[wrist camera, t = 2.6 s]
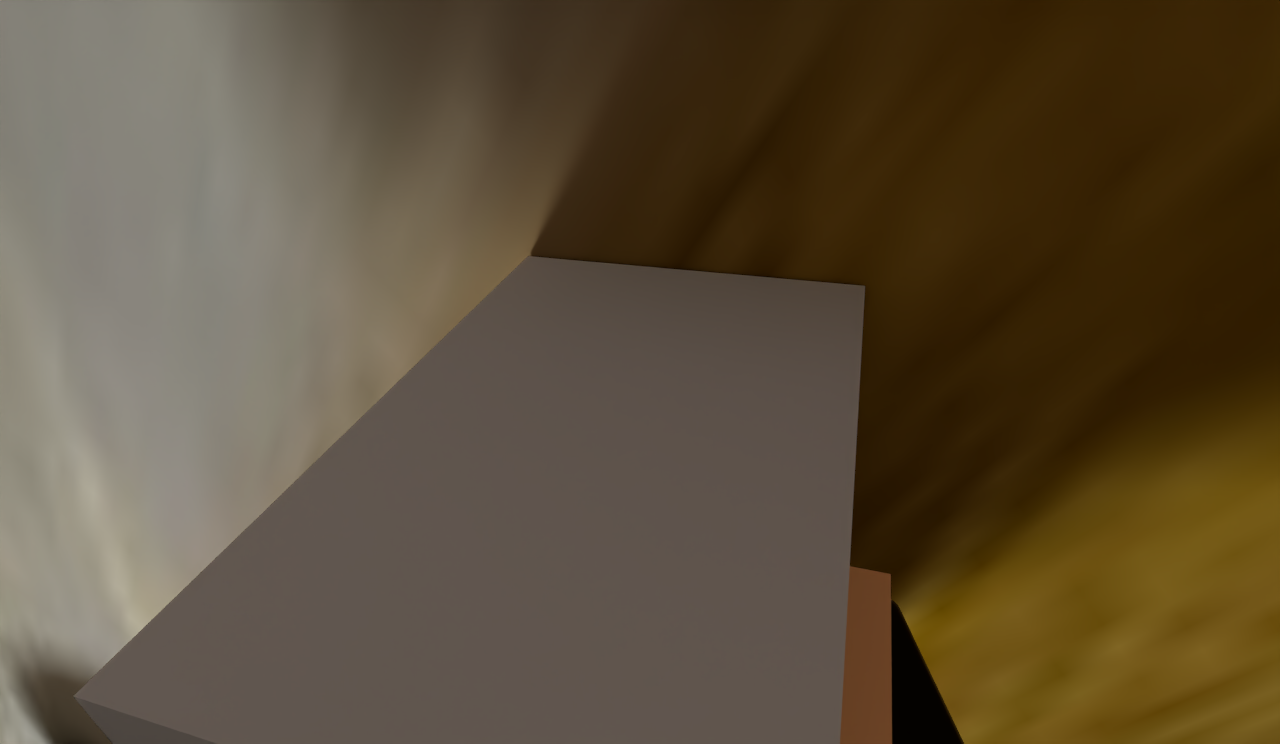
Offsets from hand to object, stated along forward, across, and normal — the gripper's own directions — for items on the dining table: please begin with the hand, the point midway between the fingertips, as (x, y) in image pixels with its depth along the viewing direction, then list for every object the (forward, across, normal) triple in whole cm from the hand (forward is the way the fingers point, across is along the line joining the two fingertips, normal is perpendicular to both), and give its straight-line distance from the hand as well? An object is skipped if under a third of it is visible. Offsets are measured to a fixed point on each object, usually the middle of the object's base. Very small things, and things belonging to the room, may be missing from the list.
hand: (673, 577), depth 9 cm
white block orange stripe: (+2, 0, 0) cm, 2 cm away
